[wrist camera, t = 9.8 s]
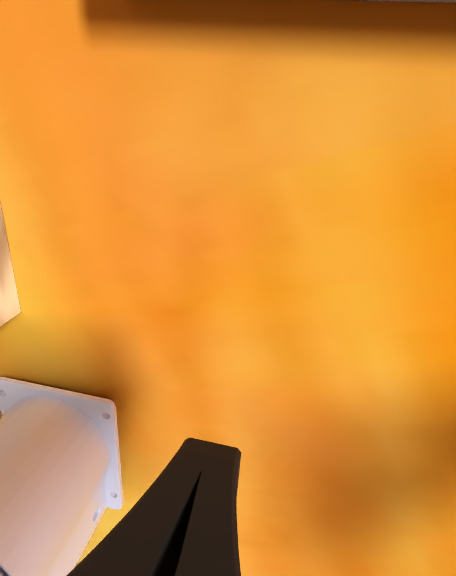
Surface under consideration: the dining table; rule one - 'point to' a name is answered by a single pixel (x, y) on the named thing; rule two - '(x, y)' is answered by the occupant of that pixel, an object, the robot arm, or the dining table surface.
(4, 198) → the dining table surface
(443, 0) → the gray open frame
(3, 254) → the board
